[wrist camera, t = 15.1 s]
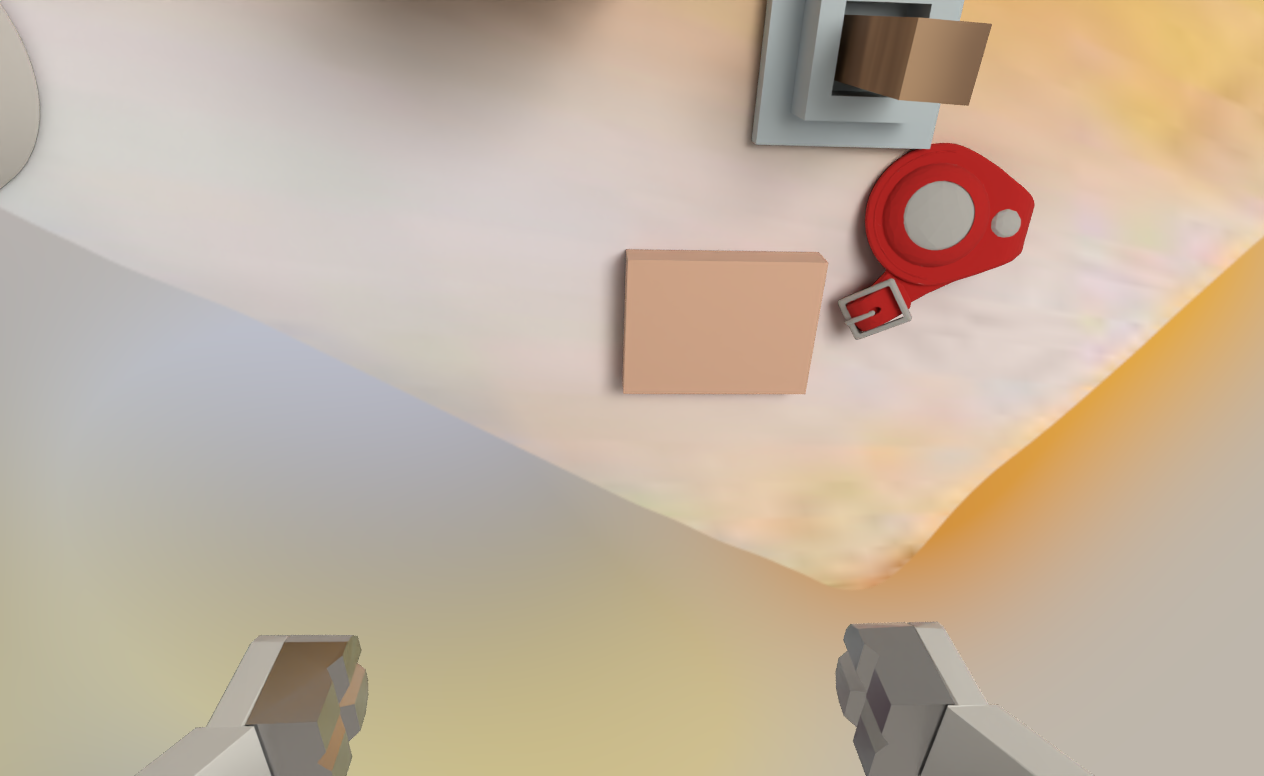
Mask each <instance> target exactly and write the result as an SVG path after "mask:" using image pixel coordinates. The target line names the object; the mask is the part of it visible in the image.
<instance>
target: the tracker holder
mask: <svg viewBox="0 0 1264 776" xmlns="http://www.w3.org/2000/svg"><path fill="white" fill-rule="evenodd" d="M1033 209H1034V200H1033V198H1032V196H1031V194H1030V193H1029V192H1028V191H1027V190H1026V189H1025V188H1024V187H1023V186H1021V185H1020V184H1019V183H1018V182H1016V181H1015V180H1014V179H1013V178H1012V177H1010V176H1009V175H1008V174H1007V173H1006V172H1004V171H1003V170H1002V169H1001V168H1000V167H998V166H997V165H995V164H994V163H992V162H991V161H989V160H988V159H986V158H985V157H983V156H982V155H980V154H978V153H976V152H975V151H972V150H971V149H968V148H966V147H964V146H961V145H957V144H951V143H938V144H931V147H930V149H915V150H913V151H910V152H908V153H907V154H905V155H903V156H902V157H900V158H899V159H898V160H896V161H895V162H894V163H893V164H891V165H890V166H889V167H888V168H887V169H886V170H885V172H884V173H883V174H882V175H881V176H880V178H879V179H878V181H877V182H876V184H875V185H874V187H873V189H872V191H871V193H870V195H869V199H868V203H867V206H866V214H865V229H866V235H867V239H868V243H869V245H870V247H871V250H872V252H873V254H874V255H875V257H876V258H877V260H878V261H879V262H880V264H881V265H882V266H883V267H884V268H885V269H886V271H885V272H884V273H883V275H882V276H881V277H880V278H879V279H878V280H877V281H876V282H875V283H874V284H873V285H872V286H871V287H869V288H866V289H864V290H862V291H859V292H857V293H854V294H852V295H850V296H847V297H845V298H842V299H840V300H838V304H839V307H840V309H841V311H842V313H843V315H844V317H845V319H846V321H845V324H846V325H849V327H850V330H851V332H852V334H853V336H854V338H855V339H856V340H858V339H861V338H864V337H867V336H870V335H872V334H875V333H878V332H881V331H883V330H886V329H889V328H892V327H895V326H897V325H900V324H903V323H906V322H908V321H911V319H912V316H911V314H910V312H909V310H908V309H909V308H910V305H911V302H912V301H914V300H916V299H918V298H920V297H922V296H923V295H925V294H927V293H929V292H932V291H934V290H936V289H938V288H940V287H943V286H945V285H947V284H949V283H952V282H954V281H957V280H960V279H963V278H966V277H970V276H973V275H976V274H979V273H982V272H985V271H987V270H990V269H993V268H996V267H999V266H1002V265H1004V264H1006V263H1008V262H1011V261H1012V260H1014V259H1015V258H1016V257H1017V256H1018V255H1019V254H1020V253H1021V252H1022V249H1023V245H1024V241H1025V237H1026V234H1027V230H1028V227H1029V223H1030V220H1031V216H1032V213H1033ZM902 313H903V316H904V317H902V318H899V319H896V320H893V321H891V322H888V321H890V320H892V319H894V318H895V317H897V316H899V315H901V314H902ZM886 322H888V323H886ZM884 323H885V324H884ZM862 331H863V332H862Z"/></svg>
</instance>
